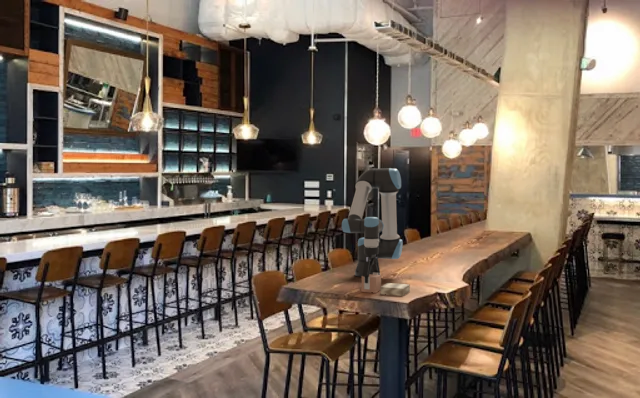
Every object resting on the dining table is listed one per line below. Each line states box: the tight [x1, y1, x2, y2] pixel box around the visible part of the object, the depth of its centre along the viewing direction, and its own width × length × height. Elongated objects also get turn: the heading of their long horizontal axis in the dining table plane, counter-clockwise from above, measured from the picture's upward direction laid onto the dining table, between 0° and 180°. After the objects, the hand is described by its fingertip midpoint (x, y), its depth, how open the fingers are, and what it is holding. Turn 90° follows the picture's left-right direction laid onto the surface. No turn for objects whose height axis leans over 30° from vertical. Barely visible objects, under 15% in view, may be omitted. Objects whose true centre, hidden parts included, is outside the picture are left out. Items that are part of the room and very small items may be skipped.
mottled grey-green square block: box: [380, 282, 411, 297], centre depth 324 cm, size 12×12×4 cm
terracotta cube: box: [361, 274, 382, 294], centre depth 329 cm, size 8×8×8 cm
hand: (371, 287), depth 329 cm, fingers open, 13 cm apart
